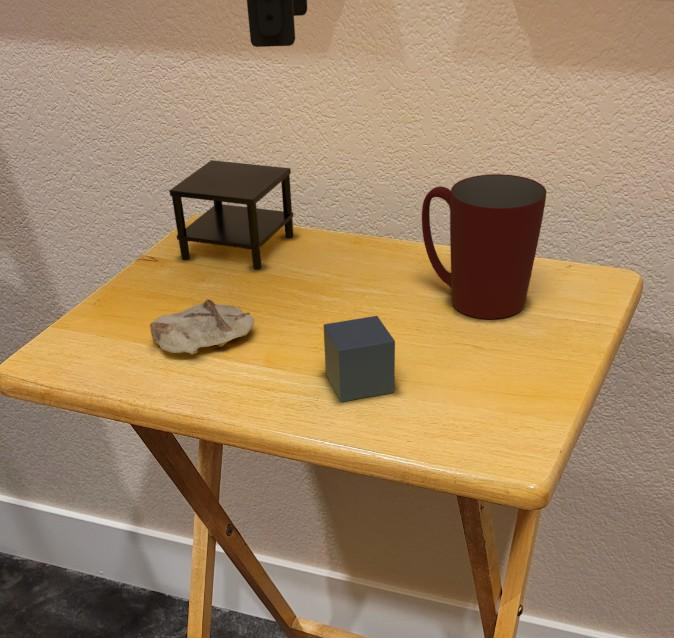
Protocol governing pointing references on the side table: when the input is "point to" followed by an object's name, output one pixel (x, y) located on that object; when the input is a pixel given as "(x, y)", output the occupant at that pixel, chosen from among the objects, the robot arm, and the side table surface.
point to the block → (359, 358)
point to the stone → (200, 327)
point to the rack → (233, 207)
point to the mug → (489, 242)
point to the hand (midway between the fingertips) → (280, 29)
